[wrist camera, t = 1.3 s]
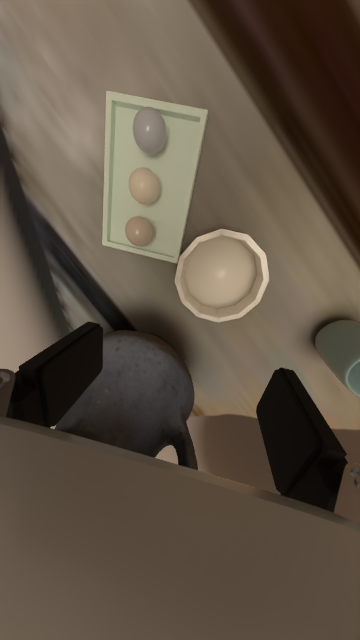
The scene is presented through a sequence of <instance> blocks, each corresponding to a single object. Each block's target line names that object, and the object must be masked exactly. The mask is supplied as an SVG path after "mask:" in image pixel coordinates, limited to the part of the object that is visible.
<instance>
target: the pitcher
mask: <svg viewBox="0 0 360 640" xmlns="http://www.w3.org/2000/svg"><path fill="white" fill-rule="evenodd" d="M193 405H194V387H193V383H192V379H191V376H190V374H189V371H188V369H187V367H186V366H185V364H184V363H183V361H182V359H181V358H180V357H179V356H178V355H177V353H176V352H175V350H174V349H173V348H172V347H171V345H170V344H169V343H167V342H166V341H165V340H163V339H162V338H161V337H159V336H156V335H152V334H148V333H144V332H138V331H128V330H118V331H114V332H109V333H106V334H103V368H102V371H101V373H100V374H99V375H98V376H97V377H96V379H95V380H94V381H93V382H92V383H91V385H90V386H89V387H88V388H87V389H86V390H85V392H84V393H83V394H82V395H81V396H80V397H79V399H78V400H77V401H76V402H75V403H74V405H73V406H72V407H71V408H70V409H69V410H68V412H67V413H66V414H65V415H64V416H63V418H62V419H61V420H60V421H59V422H58V423H57V425H56V428H55V430H59V431H62V432H66V433H69V434H73V435H76V436H80V437H83V438H87V439H90V440H94V441H97V442H101V443H104V444H108V445H111V446H115V447H119V448H122V449H125V450H129V451H132V452H136V453H139V454H143V455H146V456H150V457H153V458H155V457H156V455H157V454H158V453H159V452H160V451H161V450H162V449H163V448H164V447H165V446H168V445H172V446H174V448H175V449H176V452H177V456H178V465H181V466H184V467H188V468H191V469H194V470H198V466H197V460H196V456H195V451H194V447H193V443H192V439H191V437H190V434H189V431H188V427H187V424H186V421H187V420H188V418H189V416H190V413H191V411H192V408H193Z"/></svg>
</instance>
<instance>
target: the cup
mask: <svg viewBox="0 0 360 640" xmlns="http://www.w3.org/2000/svg"><path fill="white" fill-rule="evenodd" d="M315 345H316V349H317V351H318V353H319V355H320V357H321V358H322V359H323V361H324V362H325V364H326V365H327V366H328V367H329V369H330V370H331V371H332V372H333V373H334V374H335V375H336V377H337V378H338V379H339V380H340V381H341V382H342V383H343V384H344V385H345V387H346V388H348V389H349V390H350V391H351V392H352V393H353V394H355V395H356V396H358V397H360V322H357V321H352V320H339V321H334V322H332V323H330V324H328V325H326V326H324V327H323V328H322V329H321V330H320V331H319V332H318V333H317V335H316V338H315Z"/></svg>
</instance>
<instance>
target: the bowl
mask: <svg viewBox="0 0 360 640" xmlns="http://www.w3.org/2000/svg"><path fill="white" fill-rule="evenodd" d="M268 282H269V273H268V266H267V259H266V254H265V253H264V252H263V251H262V249H261V248H260V247H259V246H258V245H257V244H256V243H255V242H254V241H253V240H252V238H251V237H250V236H249V235H247V234H243V233H239V232H234V231H230V230H226V229H219V230H217V231H214V232H211V233H208V234H205V235H202V236H199V237H196V238H195V240H194V241H193V242H192V243H191V244H190V245H189V247H188V248H187V249H186V250H185V251H184V252H183V254H182V255H181V256H180V257H179V261H178V266H177V271H176V276H175V284H176V287H177V290H178V293H179V296H180V299H181V302H182V303H183V304H184V305H185V306H186V307H187V308H188V309H189V310H190V311H192V312H193V313H194V314H195V315H196V316H197V317H200V318H204V319H208V320H211V321H215V322H222V321H227V320H232V319H237V318H241V317H242V316H243V315H245V314H246V313H247V312H248V311H250V310H251V309H252V308H253V307H255V306H256V305H257V304H258V303H259V302H260V300H261V298H262V296H263V293H264V291H265V289H266V286H267V284H268Z"/></svg>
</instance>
